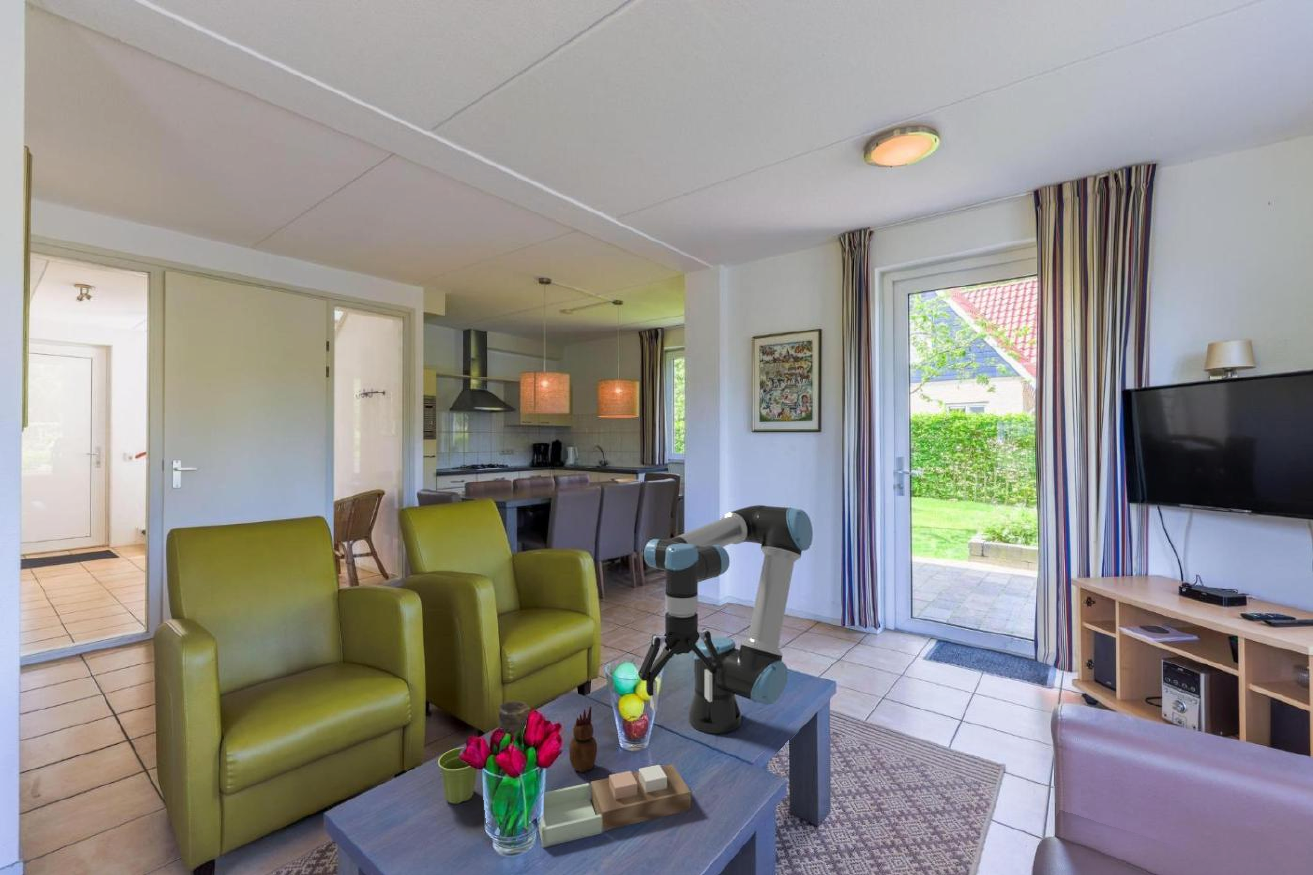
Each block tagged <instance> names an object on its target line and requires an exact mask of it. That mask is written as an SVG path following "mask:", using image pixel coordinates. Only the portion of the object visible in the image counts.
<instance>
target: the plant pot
mask: <svg viewBox="0 0 1313 875" xmlns="http://www.w3.org/2000/svg"><path fill="white" fill-rule="evenodd" d="M464 747H465V746H464ZM464 747H457V748H453V749H450V750H448V751H447V752H445V753H443V754H442V755H441V756H439V758H438V761H437V765H438V768H439V769H440V772H441V775H442V782H443V788H444V789H443V790H444V795H445V796H444V797H445V799H446V802H448V803H450V804H461V803H462V802H466V801H469V800H470V799H471V798H472V797H473V795H474V792H475V785H476V780H477V773H478V768H477V769H475V768H473V767H471V766H469V765H468V764H466V763H465V762H463V761H461V760H460V758H459V753H460V751H461V750H462V749H463V748H464Z"/></svg>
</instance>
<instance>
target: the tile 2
mask: <svg viewBox="0 0 1313 875" xmlns="http://www.w3.org/2000/svg"><path fill="white" fill-rule="evenodd" d="M661 767H662V766H661V765H660V764H657V765H651V766H647V767H642V768H638V772H639V781H640V783H641V785H642V787H643V789H644V790H645V792H646V793H648V792H652V791H656V790H661V789H665V788H667V776H666V775H665V773H664V771H663V770H662V768H661Z"/></svg>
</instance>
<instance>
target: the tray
mask: <svg viewBox="0 0 1313 875" xmlns="http://www.w3.org/2000/svg"><path fill="white" fill-rule="evenodd" d="M544 792H545V800H544V817H543V815H542V818H541V820H540V827H539V829H538V833H539V838H540V842H541V846H542V848H548V847H551V846H554V845H555V846H556V845H559V844H563V843H568V842H571V841H576V840H580V839H584V838H588V837H592V836H595V835H599V834H600V835H601V834H602V832H603V830H602V816H601V814H599V815H597V814H596V812H595V809H594V806H593V804H592V801H591V798H590V783H589V782H588V783H583V784H578V785H573V786H568V787H564V788H563V787H562V788H559V789H555V790H549V791H544Z"/></svg>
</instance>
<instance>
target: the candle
mask: <svg viewBox="0 0 1313 875" xmlns="http://www.w3.org/2000/svg"><path fill="white" fill-rule="evenodd" d="M529 713H530V714H531V707H530V705H529V704H528V703H526V702H523V701H506V702H503V703H502V704H500V705H499V706H498V729H499V728H502V729H501V730H503V731H504V732H506V733H508V734H512V735H513V734H515V733H517V732H519V731H521V730H523V729H524V727H525V725H526V720H527V715H528V714H529Z"/></svg>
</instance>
